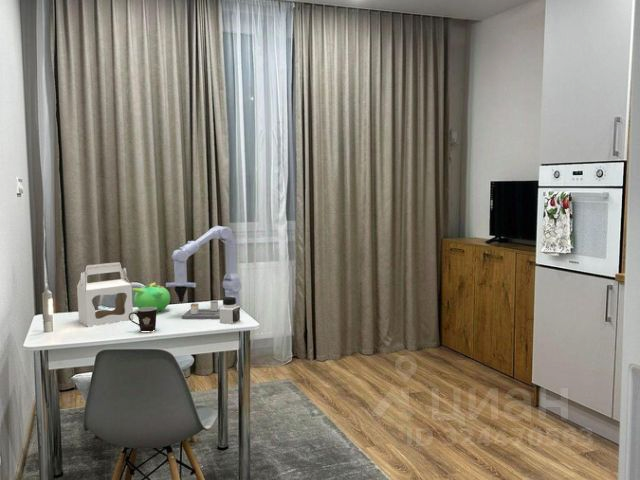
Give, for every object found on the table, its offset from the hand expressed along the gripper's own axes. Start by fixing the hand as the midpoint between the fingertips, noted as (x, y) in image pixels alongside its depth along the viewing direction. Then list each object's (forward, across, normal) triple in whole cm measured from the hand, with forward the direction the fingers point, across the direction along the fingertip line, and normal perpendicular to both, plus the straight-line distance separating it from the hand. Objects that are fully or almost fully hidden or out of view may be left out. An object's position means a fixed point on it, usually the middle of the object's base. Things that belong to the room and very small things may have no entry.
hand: (181, 301), depth 287 cm
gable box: (+8, -35, -8) cm, 37 cm away
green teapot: (+8, -19, +11) cm, 23 cm away
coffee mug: (+8, -9, -26) cm, 29 cm away
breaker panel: (+8, +11, +4) cm, 14 cm away
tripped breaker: (+6, +6, 0) cm, 9 cm away
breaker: (+6, +15, +7) cm, 17 cm away
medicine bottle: (+8, +26, -9) cm, 29 cm away
